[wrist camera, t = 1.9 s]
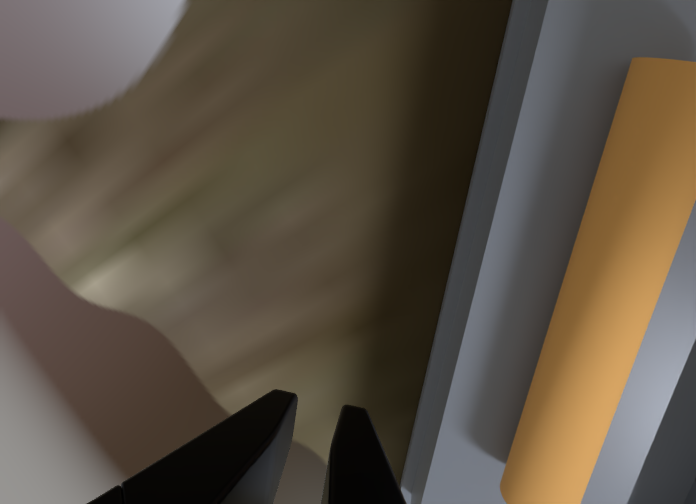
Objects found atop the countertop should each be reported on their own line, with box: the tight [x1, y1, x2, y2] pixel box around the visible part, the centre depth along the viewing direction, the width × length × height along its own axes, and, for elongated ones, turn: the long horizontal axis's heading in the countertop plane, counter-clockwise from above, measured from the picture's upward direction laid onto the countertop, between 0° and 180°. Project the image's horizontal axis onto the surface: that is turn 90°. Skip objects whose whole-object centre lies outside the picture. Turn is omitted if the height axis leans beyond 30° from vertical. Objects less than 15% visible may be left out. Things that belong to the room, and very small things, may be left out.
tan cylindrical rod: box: [500, 57, 696, 504], centre depth 16 cm, size 14×2×2 cm, turn 171°
